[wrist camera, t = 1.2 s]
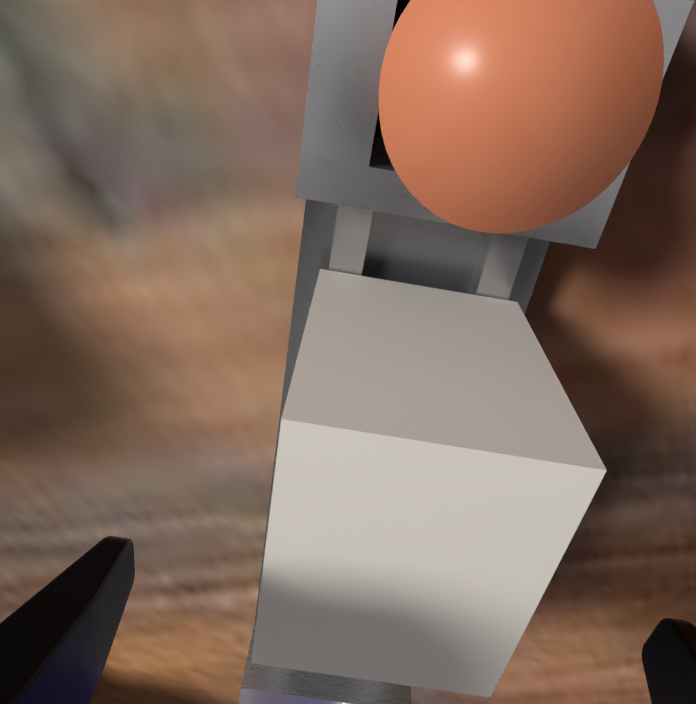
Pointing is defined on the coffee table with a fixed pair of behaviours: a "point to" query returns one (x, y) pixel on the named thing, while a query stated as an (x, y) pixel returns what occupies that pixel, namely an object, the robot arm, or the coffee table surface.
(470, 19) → the button
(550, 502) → the carriage
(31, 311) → the coffee table surface
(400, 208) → the rail
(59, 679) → the robot arm
